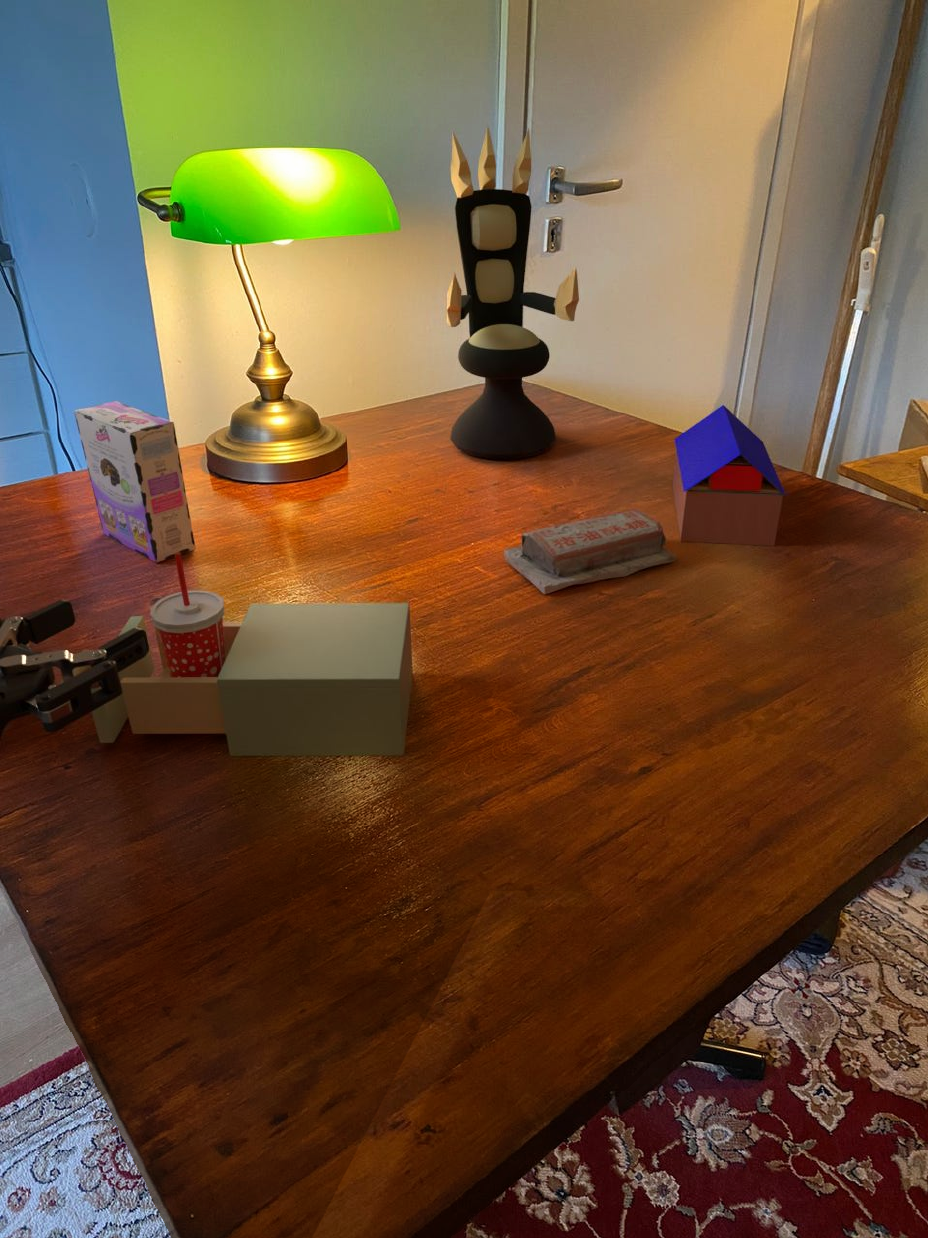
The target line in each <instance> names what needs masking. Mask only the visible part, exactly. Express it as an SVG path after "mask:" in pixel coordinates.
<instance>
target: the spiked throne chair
mask: <svg viewBox="0 0 928 1238" xmlns="http://www.w3.org/2000/svg"><path fill="white" fill-rule="evenodd" d="M451 145H452V146H451V161H450V167H449V168H450V179H451V185H452V186H453V190H454V192H455V195H456V197H457V198H456V201H455V205H454V214H455V215H454V216H455V223H456V225H455V226H456V233H457V240H458V245H459V253H460V258H461V265H462V272H463V277H464V283H465V290H466V294H462V292H463V291H462V288H461V287H460V284H459V281H458V278H457V275H456V273H453V278H452V279H451V281H450V284H449V286H448V288H447V295H446V296H447V297H446V298H447V299H446V324H447V325H448V326H449V327H451V328H456V327H458V326H460V324H461V321H462V320H465V319H466V318H467V316H468V332H469V338H467V339H466V340H465V341H463V343H462V344H461V345H460V346H459V349H458V353H457V354H458V356H457V358H458V362H459V364H460V366H461V367H462V369H463V370H464V371H466V373H469V374H471V375H473V376H475V377H478V378H479V377H480V378H484V388H483V390H482V394H480V396H479V397H478V398H477V399H475V401H474V402H473V403H471V404H470V405H469V406H468V407H467V408H466V409H465V410H463V412H461V414H460V415H459V416H458V417H457V419H456V420H455V422H454V423H453V425H452V426H451V432H450V437H449V438H450V441H451V443H452V444H453V445H454V446H455V447H456V449H457V450H459V451H461V452H463V453H464V454H466V455H470V456H474V457H477V458H483V459H488V460H489V459H490V460H513V459H525V458H528V457H534V456H537V455H539V454H541V453H544V452H546V451H547V450H548V449H549V448H550V447H552V445H553V444H554V442H555V441H556V439H557V437H556V430H555V426H554V424H553V423H552V421H551V420H550V418H549V417H548V415H547V414H546V413H545V412H544V411H543V410H542V409H541V408H540V407H539V406H538V405H536V404H535V403H534V402H533V401H532V400H531V399H530V398H529V397H528V396H527V394H526V393H525V391H524V387H523V378H527V377H531V376H534V375H537V374H538V373H540V372H542V371H543V370H544V369H545V368H546V367H547V366H548V363H549V361H550V349H549V347H548V344H546V342H544V341H543V340H542V339H541V338H540V337H538V336H537V335H536V333H534V332H533V331H531V330H530V329H528V328H525V327H524V324H523V323H524V307H527V308H530V309H532V310H535V311H539V312H542V313H545V314H550V315H553V316H556V317H557V318H559V319H560V320H564V321H567V322H575V317H576V310H577V306H578V304H579V301H580V294H579V279H578V271H577V267H575V268H574V269H572V271H571V273H570V274H568V275H567V276H566V277H565V278H564V279H563V280H562V282H561V283H560V284H559V285H558V288H557V290H556V291H557V292H556V295H555V297H553V296H550V295H547V294H543V293H539V292H535V291H526V292H525V278H526V269H527V268H526V267H527V258H528V257H527V256H528V255H527V254H528V247H529V239H530V231H531V219H532V207H533V206H532V202H531V198H530V195H528V191H529V189H530V187H529V186H530V179H531V174H532V149H531V134H530V127H527V131H526V135H525V137H524V139H523V142H522V144H521V146H520V149H519V151H518V153H517V157H516V159H515V161H514V167H513V173H512V185H511V186H512V188H511V189H500V188H496V186H497V185H496V184H497V182H496V180H497V179H496V177H497V163H496V155H495V150H494V146H493V145H494V144H493V141H492V136H491V132H490V128H489V125H488V124H487V126H486V132H485V136H484V139H483V144H482V147H481V151H480V155H479V157H478V169H477V177H478V184H479V185H478V186H479V189H476V190H474V186H473V180H472V173H471V169H470V165H469V162H468V159H467V157H466V155H465V153H464V151H463V149H462V147H461V144H460V142H459V140H458V138H457V136H456V135H455V133H454V132H452V143H451Z"/></svg>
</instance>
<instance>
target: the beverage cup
mask: <svg viewBox="0 0 928 1238" xmlns="http://www.w3.org/2000/svg"><path fill="white" fill-rule="evenodd" d="M174 554H175V556H174V558H175V565H176V570H177V575H178V581H179V586H180V591H179V592H175V593H171V594H168V595H166V596H164V597H163V598H161V599H158V600H157V601H156V602H154V604H153V605H152V606H150V612H149V617H150V618H151V623H152V624H153V626H154V628H155V627H156V628H157V631H158V634H159V638H160V641H161V645H162V648H163V652H164V655H165V659H166V662H167V666H168V669H169V673H170V676H171V677H218V676H219V674H220V671H221V669H222V667H223V665H224V662H225V660H226V647H225V636H224V626H223V622H224V616H225V610H226V608H225V600H224V599H223V597H221V595H220V594H218V593H216V592H213V591H210V590H202V589H201V590H200V589H193V590H188V587H187V582H186V575H185V571H184V565H183V560H182V554H180V552H176V553H174Z"/></svg>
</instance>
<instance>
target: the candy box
mask: <svg viewBox="0 0 928 1238" xmlns="http://www.w3.org/2000/svg"><path fill="white" fill-rule="evenodd" d="M73 412H74V413H73V414H74V417H75V421H76V425H77V429H78V430H77V431H78V433H79V438H80V443H81V446H82V450H83V455H84V459H85V463H86V467H87V471H88V476H89V480H90V484H91V488H92V492H93V496H94V500H95V504H96V509H97V513H98V517H99V521H100V525H101V530H102V533H103V534H104V535H105V536H107V537H108V538H111V539H113V540H115V541H116V542H118V543H119V544H121V545H123V546H125V547H127V548H129V549H130V550H132V551H134V552H136V553H137V554H139V555H142V556H143V557H145V558H147V559H148V560H150V561H152V562H154V563H156V564H157V563H160V562H163V561H165V560H169V559H172V558H175V554H174V553H176V552H180V554H181V555H183V554H186V553H189V552H192V551H194V550H196V543H195V537H194V532H193V526H192V521H191V516H190V510H189V509H190V508H189V504H188V503H189V502H188V497H187V493H186V487H185V480H184V474H183V467H182V463H181V456H180V452H179V443H178V439H177V433H176V427H175V422H174V421H171V420H168V419H165V418H163V417H159V416H157V415H154V414H152V413H149V412H146V411H143V410H140V409H138V408H135V407H132V406H129V405H127V404H124V403H122V402H119V401H117V400H114V401H110V402H106V403H101V404H96V405H93V406H88V407H84V408H79V409H75V410H74V411H73Z"/></svg>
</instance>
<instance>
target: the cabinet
mask: <svg viewBox="0 0 928 1238" xmlns="http://www.w3.org/2000/svg"><path fill="white" fill-rule="evenodd" d="M410 609H411V608H410V602H306V603H304V602H300V603H299V602H298V603H295V602H294V603H292V602H291V603H290V602H289V603H280V602H279V603H250V604H249V605H248V609H247V610H246V613H245V616H244V617H243V620H242V621H241V622H242V624H241V626H240V629H239V631H238V633H237V635H236V638H235V640H234V642H233V644H232V647H231V649H230V651H229V653H228V656H227V658H226V660H225V662H224V665H223V667H222V669H221V671H220V674H219V676H218V678H217V684H218V690H219V696H220V702H221V707H222V713H223V719H224V724H225V730H226V734H225V736H226V741H227V747H228V754H229V757H311V756H312V757H333V756H334V757H338V756H339V757H341V756H342V757H345V756H346V757H347V756H348V757H351V756H355V757H359V756H360V757H361V756H364V757H365V756H366V757H368V756H369V757H370V756H371V757H376V756H377V757H378V756H379V757H380V756H385V757H386V756H389V757H391V756H392V757H393V756H396V757H397V756H400V757H401V756H404V755H405V748H406V747H405V746H406V738H407V730H408V729H407V728H408V719H409V712H410V711H409V710H410V703H411V702H410V701H411V693H412V683H413V674H414V670H413V668H414V667H413V650H412V649H413V648H412V630H411V629H412V628H411V627H412V625H411V610H410Z"/></svg>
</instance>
